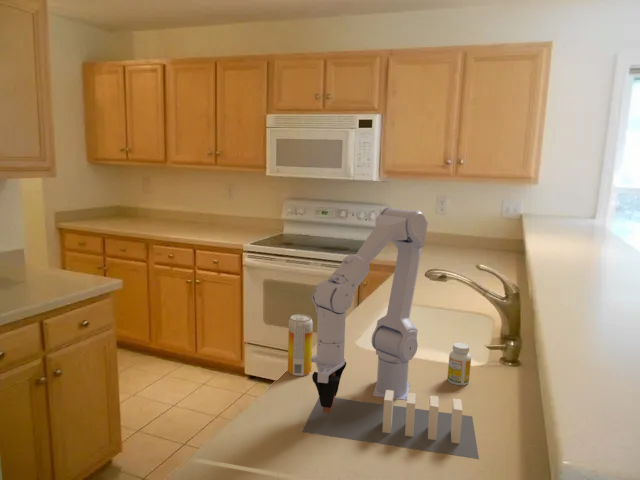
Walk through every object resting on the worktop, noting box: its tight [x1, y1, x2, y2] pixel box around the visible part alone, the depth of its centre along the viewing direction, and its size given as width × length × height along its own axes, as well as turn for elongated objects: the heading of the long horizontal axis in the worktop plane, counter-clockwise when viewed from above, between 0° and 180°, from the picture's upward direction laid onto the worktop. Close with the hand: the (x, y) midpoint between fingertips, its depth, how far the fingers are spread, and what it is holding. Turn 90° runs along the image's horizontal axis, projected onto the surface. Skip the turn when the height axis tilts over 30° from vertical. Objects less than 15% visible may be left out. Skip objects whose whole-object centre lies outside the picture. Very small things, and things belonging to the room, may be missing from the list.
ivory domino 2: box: [405, 392, 417, 437], centre depth 99 cm, size 2×4×7 cm, turn 167°
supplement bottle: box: [447, 342, 472, 386], centre depth 123 cm, size 5×5×10 cm
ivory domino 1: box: [382, 390, 394, 433], centre depth 100 cm, size 2×4×7 cm, turn 167°
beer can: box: [287, 314, 314, 377], centre depth 125 cm, size 6×6×15 cm
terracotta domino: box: [323, 372, 336, 414], centre depth 102 cm, size 2×4×7 cm, turn 167°
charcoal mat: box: [301, 397, 480, 460], centre depth 102 cm, size 16×34×1 cm, turn 77°
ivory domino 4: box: [451, 397, 463, 444], centre depth 97 cm, size 2×4×7 cm, turn 167°
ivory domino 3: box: [428, 395, 440, 440], centre depth 98 cm, size 2×4×7 cm, turn 167°
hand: (328, 400), depth 102 cm, fingers closed on terracotta domino, 4 cm apart
